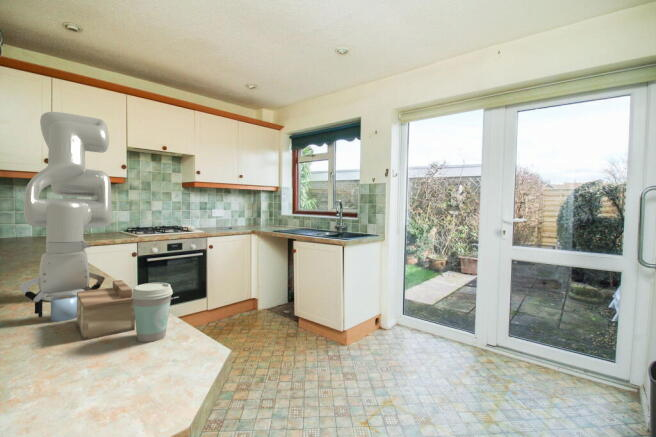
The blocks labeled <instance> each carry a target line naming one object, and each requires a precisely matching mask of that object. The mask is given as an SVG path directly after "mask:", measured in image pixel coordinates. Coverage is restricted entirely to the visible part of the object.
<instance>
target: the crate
mask: <svg viewBox="0 0 656 437" xmlns="http://www.w3.org/2000/svg"><path fill="white" fill-rule="evenodd" d="M76 324H77V327H78V329H79V332H80V335H81V337H82V340H83V341H87V340H93V339H98V338H102V337H107V336H111V335H112V336H113V335H116V334H120V333H121V334H122V333H126V332H131V331H135V330H136V323H135V315H134V306H133V302H129V303H123V304H116V305H110V306H103V307H97V308H91V309H84V308H83V306H82V304H81V302H80V300H79V298H78V296H77V318H76Z"/></svg>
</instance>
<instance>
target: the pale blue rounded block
mask: <svg viewBox="0 0 656 437" xmlns="http://www.w3.org/2000/svg"><path fill="white" fill-rule="evenodd" d="M74 319H77V295H61V296H56V297H53V298H51V301H50V321H51V322H59V323H60V322H67V321H70V320H71V321H72V320H74Z"/></svg>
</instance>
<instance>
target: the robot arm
mask: <svg viewBox="0 0 656 437" xmlns="http://www.w3.org/2000/svg"><path fill="white" fill-rule="evenodd" d="M39 121H40V124H39V125H40V129H41V130H40V131H41V134H42V137H43V139H44V140H43V141H44V142H45V144H46V147H47V148H48V155H47V157H48V158H47V166H46V167H45V168H43V169H42V170H40V171H39V172H37V173H36V174H35V175H34V176H32V178H31V179H30V180H29V182H28V183H27V185H26V187H25V190H24V191H25V192H24V203H23V219H24V221H25V223H26V224H27V225H29V226H31V227H35V228H45V229H46V230H45V231H46V232H45V235H46V236H45V238H46V241H45V242H46V243H45V244H46V245H45V247H46V248H45V250H46V253H45V252H44V253H42V254H41V258H40V262H39V271H38V272H39V273H38V276H37V277H36V276H35V277H34V278H32V279H30V280H27V281H25V282H23V283H21V284H20V285H18V286H19V287H18V289H19V290H20V291H21V292H22V294H24V296H25V297H27V298H28V299H29V300H31V301H32V302H34V315H38V316H37V317H38V318H42V317H43V301H47V302H51V298H53V297H56V296H61V295H77V292H80V291H88V290H96V289H101V285H103V283H104V281H105V280H106V278H105V276H103V275H100V274H97V273H94V272H91V271H90V268H89V260H88V254H87V251H86V249H87V248H89V249H90V248H91V244H90V242H86V240H85V239H84V238H85V237H84V229H99V228H100V229H101V228H102V229H103V228H107V227H109V226H110V225H111V222H112V218H113V217H112V216H113V210H112V207H113V206H112V186H111V179H110V176H109V174H108V173H107V172H105V171H102V170H99V169H88V168H86V152H91V153H100V154H102V153H105V152H107V150H108V148H109V144H110V137H109V135H110V134H109V131H108V127H107V123H106V122H105V121H104V120H103V119H100V118H96V117H92V116H91V117H90V116H85V115H78V114H73V113H67V112H61V111H59V112H58V111H47V112H44V113H42V114H41V116H40V120H39ZM48 186H50V187H51V191H53V193H54V194H55V195H57V196H63V197H64V198H54V199H39V196H40V193H41V191H42V190H44V188H47V187H48ZM65 197H73V198H65ZM75 197H77V198H75ZM83 198H92V199H83ZM90 279H93V280H96V282H95V284H93V285H91V287H90V286H89V285H90ZM36 284H38V289H39V290H38V291H37V292H36V293H35V292H33V291H31V290H30V287H32V286H34V285H36Z"/></svg>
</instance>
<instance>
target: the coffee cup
mask: <svg viewBox="0 0 656 437" xmlns="http://www.w3.org/2000/svg"><path fill="white" fill-rule="evenodd" d="M171 286H172V285H171V284H170V283H167V282H148V283H141V284H138V285H136V286H134V287H133V290H132V296H131V298H133V306H134V315H135V330H136V338H137V341H139V342H142V343H150V342H156V341H159V340H162V339H163V338H165V337H166V334H167V328H168V321H169V313H170V307H171V302H172V295H173V293H174V292H173V289H172V287H171Z"/></svg>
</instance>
